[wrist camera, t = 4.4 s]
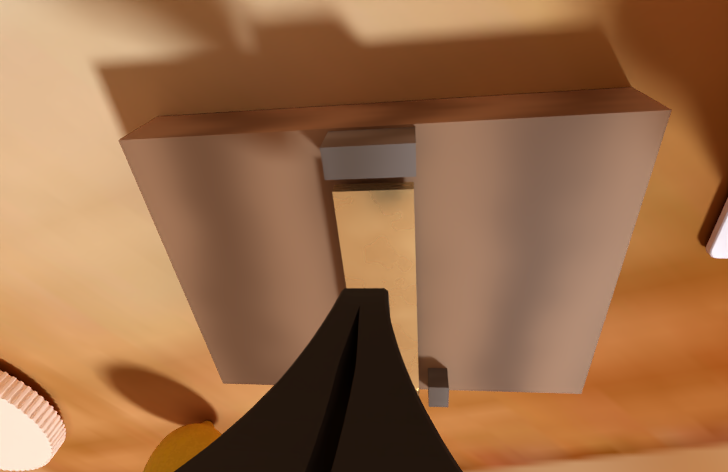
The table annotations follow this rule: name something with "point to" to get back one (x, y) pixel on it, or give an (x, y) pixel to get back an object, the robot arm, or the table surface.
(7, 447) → the plastic lid
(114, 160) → the table surface
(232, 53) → the table surface
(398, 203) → the latch bar
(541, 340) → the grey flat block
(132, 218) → the table surface
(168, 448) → the lemon
